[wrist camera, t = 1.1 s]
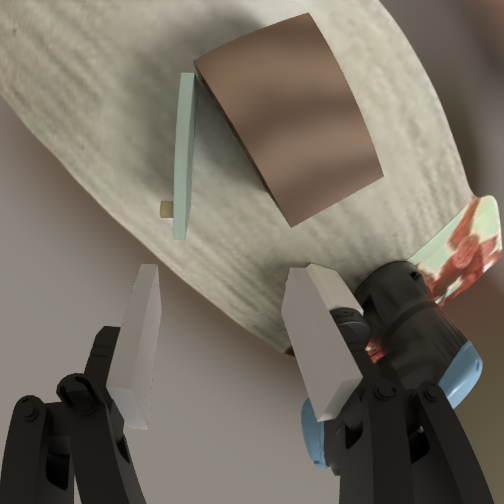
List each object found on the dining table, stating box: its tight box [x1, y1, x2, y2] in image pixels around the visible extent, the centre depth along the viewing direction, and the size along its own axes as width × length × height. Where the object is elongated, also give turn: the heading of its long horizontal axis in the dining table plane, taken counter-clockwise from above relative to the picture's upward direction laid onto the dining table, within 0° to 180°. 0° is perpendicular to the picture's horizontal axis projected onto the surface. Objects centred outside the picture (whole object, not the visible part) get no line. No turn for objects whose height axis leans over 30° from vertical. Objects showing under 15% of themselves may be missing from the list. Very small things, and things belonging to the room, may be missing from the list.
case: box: [193, 13, 384, 228], centre depth 24 cm, size 16×10×10 cm, turn 29°
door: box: [160, 73, 199, 240], centre depth 24 cm, size 14×3×9 cm, turn 174°
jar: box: [285, 263, 371, 348], centre depth 36 cm, size 9×8×12 cm
